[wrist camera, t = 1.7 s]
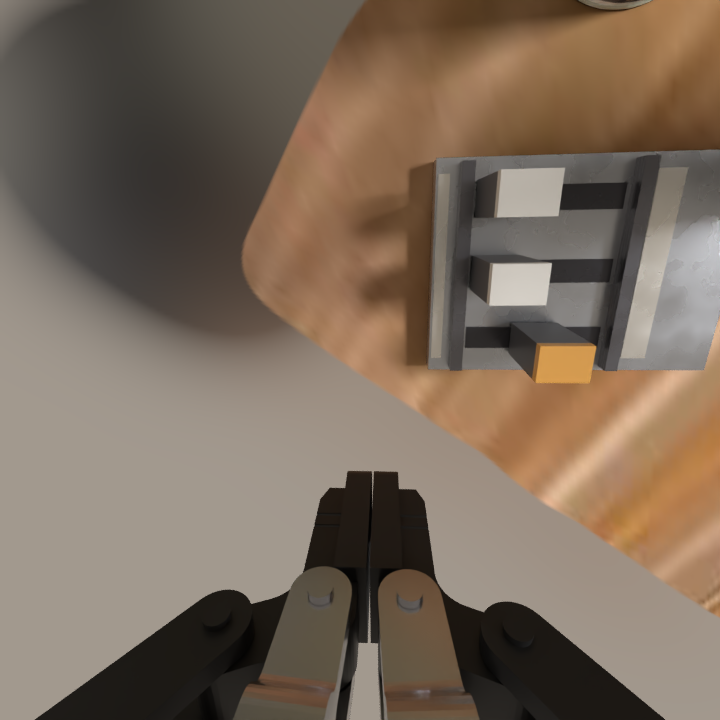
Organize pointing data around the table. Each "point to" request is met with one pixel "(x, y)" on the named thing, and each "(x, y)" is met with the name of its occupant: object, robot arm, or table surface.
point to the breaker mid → (510, 280)
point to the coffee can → (614, 3)
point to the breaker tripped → (551, 353)
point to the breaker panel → (585, 259)
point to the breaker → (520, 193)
